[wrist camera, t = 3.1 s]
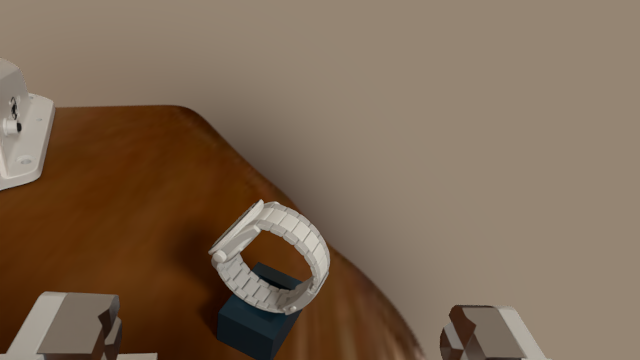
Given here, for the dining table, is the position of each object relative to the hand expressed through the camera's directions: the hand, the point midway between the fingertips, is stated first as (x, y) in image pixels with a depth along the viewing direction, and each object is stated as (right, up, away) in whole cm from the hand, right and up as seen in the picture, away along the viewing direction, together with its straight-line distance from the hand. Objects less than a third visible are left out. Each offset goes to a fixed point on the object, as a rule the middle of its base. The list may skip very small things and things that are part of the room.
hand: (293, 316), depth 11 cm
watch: (-4, -8, +23) cm, 25 cm away
